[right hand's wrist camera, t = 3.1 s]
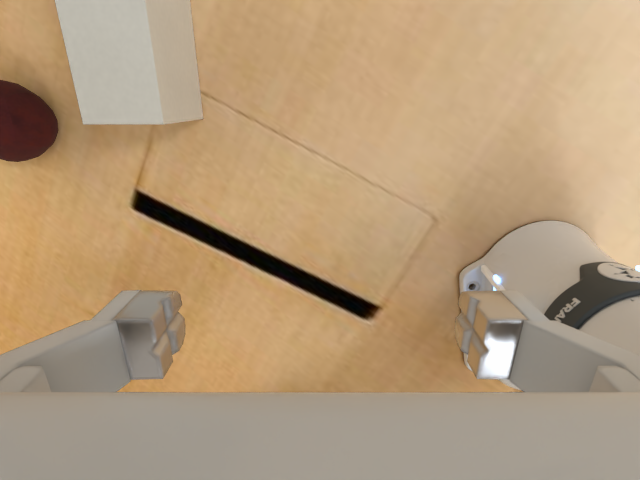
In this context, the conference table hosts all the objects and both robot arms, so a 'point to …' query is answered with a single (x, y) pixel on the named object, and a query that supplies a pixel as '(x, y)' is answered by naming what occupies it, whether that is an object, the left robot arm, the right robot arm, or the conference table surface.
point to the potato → (24, 123)
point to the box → (132, 60)
